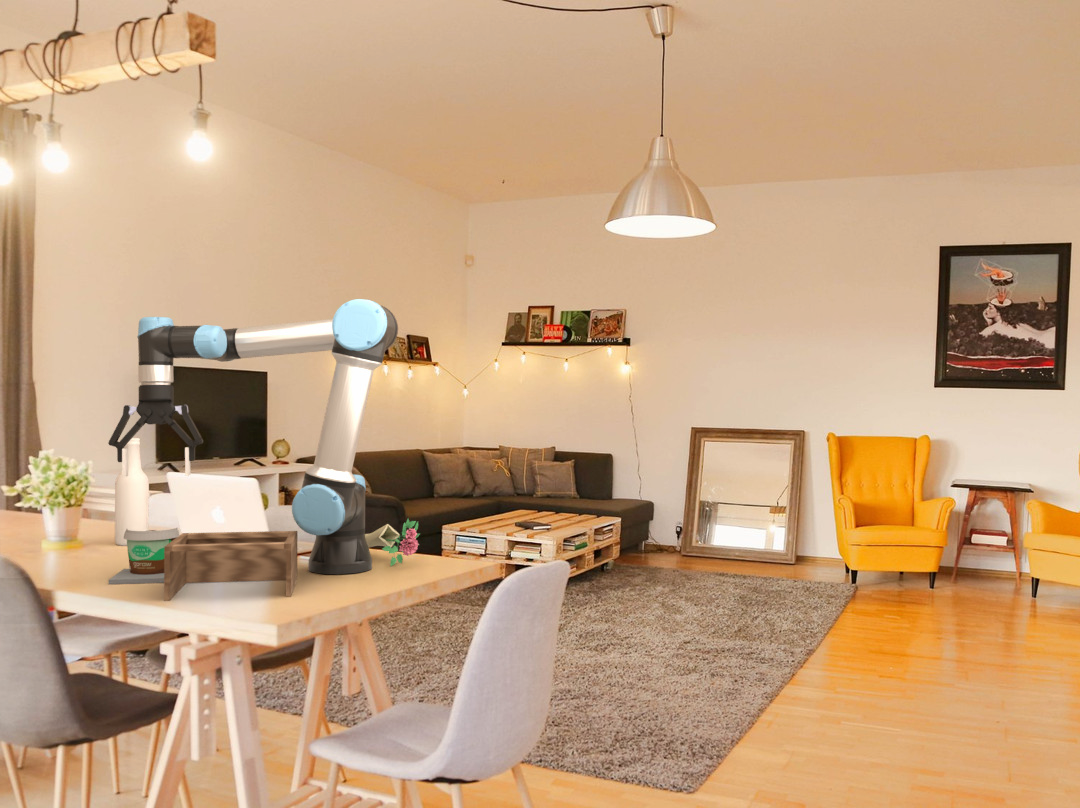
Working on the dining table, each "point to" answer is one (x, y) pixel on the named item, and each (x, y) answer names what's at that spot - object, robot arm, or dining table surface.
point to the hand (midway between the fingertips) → (156, 476)
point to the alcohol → (131, 496)
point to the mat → (135, 578)
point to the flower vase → (395, 540)
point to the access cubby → (230, 558)
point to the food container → (148, 550)
